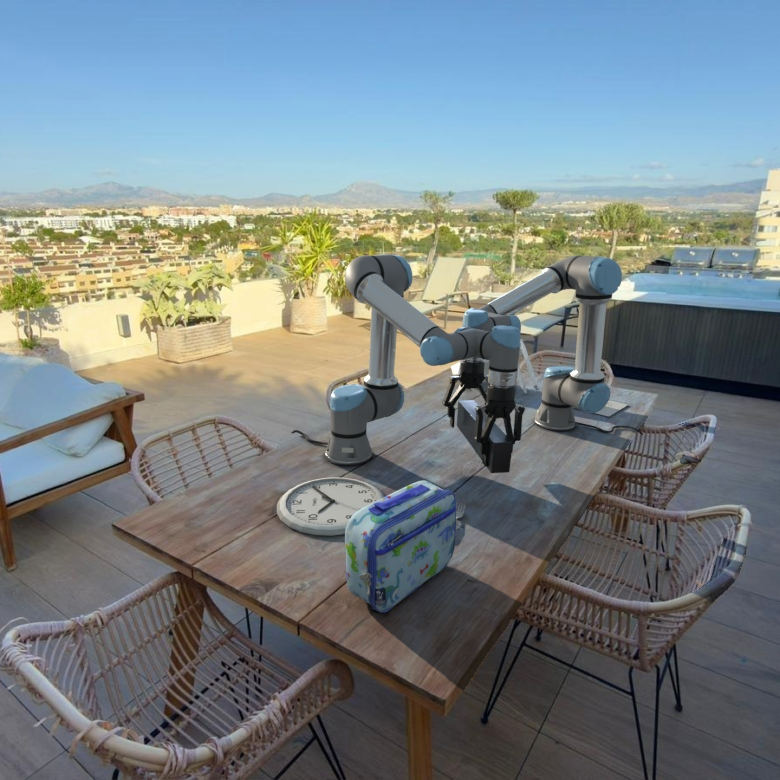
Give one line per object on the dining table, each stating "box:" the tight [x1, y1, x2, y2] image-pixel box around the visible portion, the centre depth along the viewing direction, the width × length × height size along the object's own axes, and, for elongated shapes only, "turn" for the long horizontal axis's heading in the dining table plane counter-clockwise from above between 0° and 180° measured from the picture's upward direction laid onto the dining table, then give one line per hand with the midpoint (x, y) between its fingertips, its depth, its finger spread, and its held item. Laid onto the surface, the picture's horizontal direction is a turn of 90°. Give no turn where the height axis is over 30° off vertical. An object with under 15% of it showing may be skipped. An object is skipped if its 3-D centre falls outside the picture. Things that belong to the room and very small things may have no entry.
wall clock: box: [276, 476, 386, 537], centre depth 142 cm, size 30×2×30 cm
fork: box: [456, 501, 466, 520], centre depth 134 cm, size 3×16×2 cm, turn 160°
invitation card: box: [575, 399, 629, 418], centre depth 226 cm, size 21×1×15 cm
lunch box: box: [344, 480, 457, 614], centre depth 109 cm, size 26×11×21 cm, turn 135°
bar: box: [456, 399, 512, 474], centre depth 158 cm, size 36×5×9 cm, turn 8°
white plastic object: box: [450, 339, 540, 394], centre depth 253 cm, size 37×45×31 cm
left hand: (495, 463), depth 146 cm, fingers closed on bar, 5 cm apart
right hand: (468, 425), depth 171 cm, fingers open, 10 cm apart
